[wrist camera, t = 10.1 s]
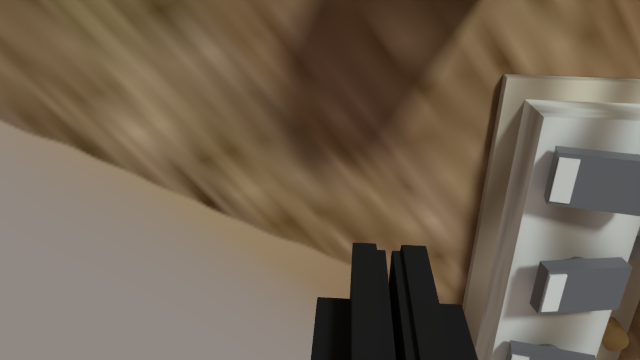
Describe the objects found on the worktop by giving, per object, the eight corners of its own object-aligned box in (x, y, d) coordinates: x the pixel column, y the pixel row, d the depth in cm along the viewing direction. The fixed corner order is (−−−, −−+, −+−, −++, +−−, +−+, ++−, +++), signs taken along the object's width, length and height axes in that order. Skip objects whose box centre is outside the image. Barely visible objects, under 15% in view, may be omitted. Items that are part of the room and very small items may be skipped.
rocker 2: (615, 252, 36) (634, 268, 34) (602, 293, 38) (619, 310, 36) (535, 256, 35) (550, 272, 34) (525, 297, 37) (538, 315, 35)
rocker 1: (657, 153, 32) (667, 165, 30) (640, 204, 33) (649, 218, 32) (554, 142, 33) (559, 153, 31) (542, 192, 35) (546, 204, 33)
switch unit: (707, 81, 36) (758, 102, 31) (609, 362, 47) (636, 407, 42) (503, 74, 36) (524, 93, 32) (454, 352, 47) (464, 396, 43)
